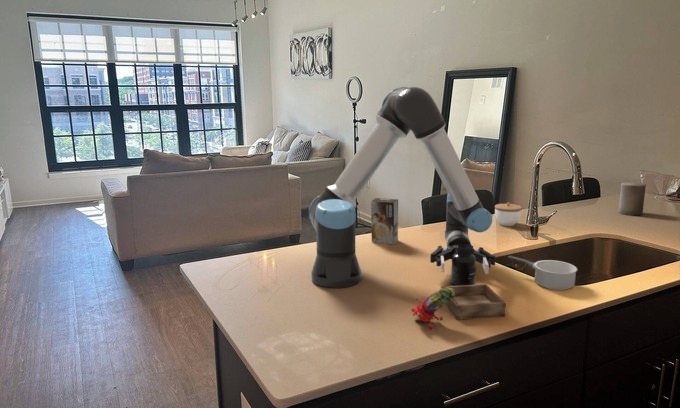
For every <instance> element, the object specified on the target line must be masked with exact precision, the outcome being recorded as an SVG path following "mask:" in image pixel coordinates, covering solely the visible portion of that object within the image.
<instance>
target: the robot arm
mask: <svg viewBox="0 0 680 408" xmlns="http://www.w3.org/2000/svg"><path fill="white" fill-rule="evenodd" d="M437 105H438V104H437V103H436V102H435V99H434V98H433V97H432V96H431V94H430V93H429V92H427V90H425V89H423V88H421V87H417V86H411V87H407V86H402V87H396V88H394V89H393V90H391V91H390V92H388V93H387V94H386V95H385V96H384V99H383V101H382V104H381V108H379V111H378V112H377V114H376V115H375V119H376V123H375V125H374V126H373V128H372V129H371V131H370V132H369V134H368V135H367V137H366V138H365V139H364V141H363V142H362V144H361V145H360V147H359V148H358V149H357V151H356V153H354V155H353V156H352V158H351V160H350V161H349V162H348V164H347V165H346V167H344V169H343V170H342V172H341V174H340V175H339V177H338V178H337V180H336V181H335V182H334V184H332V185H326V187H325V189H324V190H323V191H322V193H321V194H320V195H318V196H316V197H315V198H314V199H313V200H312V201H311V203H310V206H309V208H308V218H309V221H310V224H311V225H312V227H313V228H314V230H315V232H316V233H315V235H316V256H315V260H314V262H313V265H312V269H311V281H312V283H314V284H315V285H317V286H320V287H323V288H331V289H332V288H334V289H338V288H339V289H340V288H348V287H353V286H355V285H357V284H359V283H360V282H361V281H362V270H361V267H360V264H359V260H358V258H357V257H358V256H357V255H356V254H357V253H356V219H357V214H356V208H357V203H356V201H357V198H358V197H360V195H361V193H362V191H363V190H364V189H365V187H366V186H367V184H368V183H369V182H370V180H371V179H372V177H374V176H373V175H375V173H376V172H377V170H378V168H380V166H381V164H382V163H383V162H384V160H385V159H386V158H387V156H388V155H389V153H390V152H391V150H392V149H393V148H394V146H395V145H396V143H397V142H398V140H399V139H402V138H406V137H407V135H408V134H409V133H410V131H411V132H412V134H413V135H414V137H415V139H416V140H417V141H421V143H422V146H423V148H424V149H425V150H426V153H427V155H428V156H429V159H430V161H431V163H432V164H433V166H434V169H435V171H436V172H437V174H438V176H439V178H440V179H441V180H440V181H441V182H442V184H443V185H444V187H445V190H446V191H447V197H446V210H445V211H446V212H445V213H446V215H445V216H446V219H445V220H446V221H445V231H444V238H445V241H446V248H444V247H443V246H442V245H438V246H437V248H436V249H435V250H434V251H432V252H431V253H430V260H429V261H430V263H431V264H433V263H436V264H435V265H436V266H437V267H440V270H441V273H445V262H447V261H449V260H451V261H452V256H453V255H454V254H455V253H457V252H456V245H457V244H469V245H472V243H471V240H470V237H469V230H470V231H474V232H476V233H484V232H486V231H487V230H489V229H490V228H491V227H492V223H493V216H492V213H491V212H490V211H489V209H488V210H487V209H486V208H484V206H483V204H482V202H481V200H480V199H479V197H478V195H477V193H476V191H475V188H474V186H473V185H472V183H471V180H470V178H469V177H468V174H467V173H466V170H465V168H464V166H463V165H462V164H463V163H461V160H460V158H459V156H458V153H457V152H456V150H455V148H454V146H453V143H452V142H451V139H450V138H449V136H448V133H447V132H446V130H445V127H446V121H445V119H444V117H443V115H442V113H441V112H440V109H439V107H438V106H437ZM472 254H473V255H474V256H475V257H476V263H479V264H481V265H482V268H483V271H484V273H485V275H489V269H491V267H492V266H495V265H496V256H495V255H493V254H492V253H490V252H488V250H487V251H486V250H485V249H484V247H478V248H477V249H475V248H474V247H473V253H472Z"/></svg>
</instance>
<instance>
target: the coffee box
mask: <svg viewBox="0 0 680 408" xmlns="http://www.w3.org/2000/svg"><path fill="white" fill-rule="evenodd" d="M370 206H371V207H370V208H371V209H370V210H371V214H370V216H371V218H370V219H371V220H370V221H371V223H370V224H371V226H370V227H371V231H370V232H371V243H374V244H376V243H377V244H385V245H386V244H387V245H396V243H397V242H398V241H399V199H396V198H395V199H393V198H381V197H375V198H373V199H372V200H371V202H370Z"/></svg>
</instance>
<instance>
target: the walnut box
mask: <svg viewBox="0 0 680 408" xmlns="http://www.w3.org/2000/svg"><path fill="white" fill-rule="evenodd" d="M445 287H448V288H453V289H454V290H455V296H454V297H453V300H452V301H450V302H448V303H446V304H444V305H445V306H446V308H447V309H448V311H449V312H450V313H451V315H452V316H453V317H454V318H455V320H470V319H473V320H474V319H487V318H489V319H490V318H500V317H502V318H503V317H506V310H507V309H506V308H507V303H506V302H505V301H504V299H502V298H501V297H500V296H499V295H498V294H497V293H496V292H495V291H494V290H493V289H492V288H491V287H490V286H488V285H487V284H486V283H485V284H484V283H483V284H482V283H481V284H475V285H461V286H452V285H445V286H440V289H441V288H445Z"/></svg>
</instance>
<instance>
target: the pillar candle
mask: <svg viewBox="0 0 680 408" xmlns="http://www.w3.org/2000/svg"><path fill="white" fill-rule="evenodd" d="M646 187H647V185H646V183H643V182H635V181H631V182H629V181H627V182H626V181H624V182H621V185H620V196H619V202H618V213H619V214H620V215H627V216H636V217H637V216H642V215H643V214H644V213H643V212H644V203H645V197H646V195H645V194H646Z"/></svg>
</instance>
